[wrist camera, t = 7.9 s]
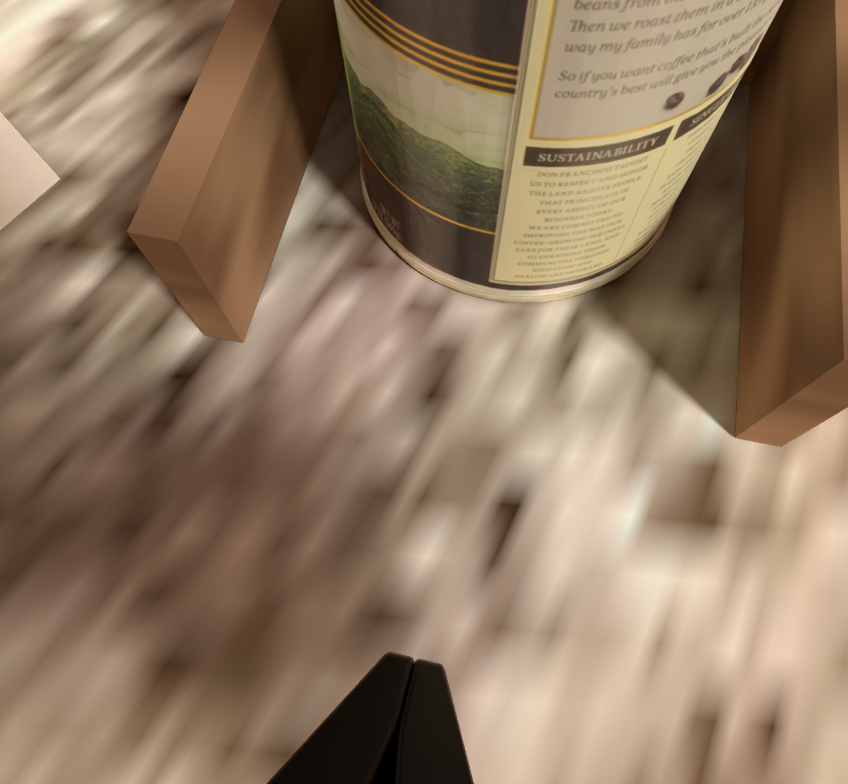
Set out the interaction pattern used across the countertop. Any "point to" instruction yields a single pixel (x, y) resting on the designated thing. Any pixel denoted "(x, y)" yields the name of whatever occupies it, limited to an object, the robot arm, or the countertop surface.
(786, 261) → the brown tray
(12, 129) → the milk
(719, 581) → the countertop surface
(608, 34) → the coffee can
